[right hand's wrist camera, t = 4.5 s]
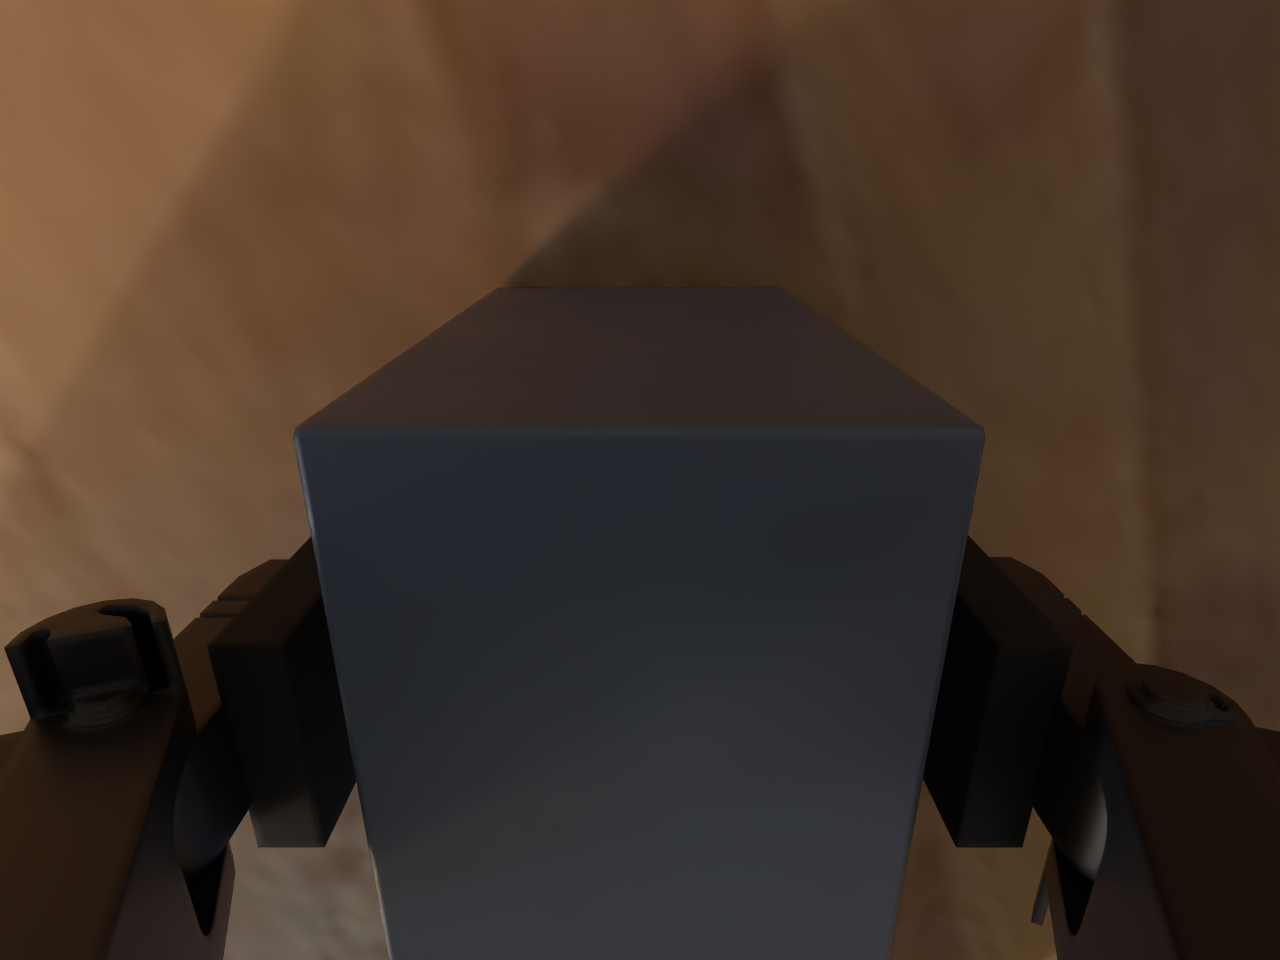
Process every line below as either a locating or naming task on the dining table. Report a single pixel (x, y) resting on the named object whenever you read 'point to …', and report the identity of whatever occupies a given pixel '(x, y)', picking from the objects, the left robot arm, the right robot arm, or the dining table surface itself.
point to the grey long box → (639, 624)
